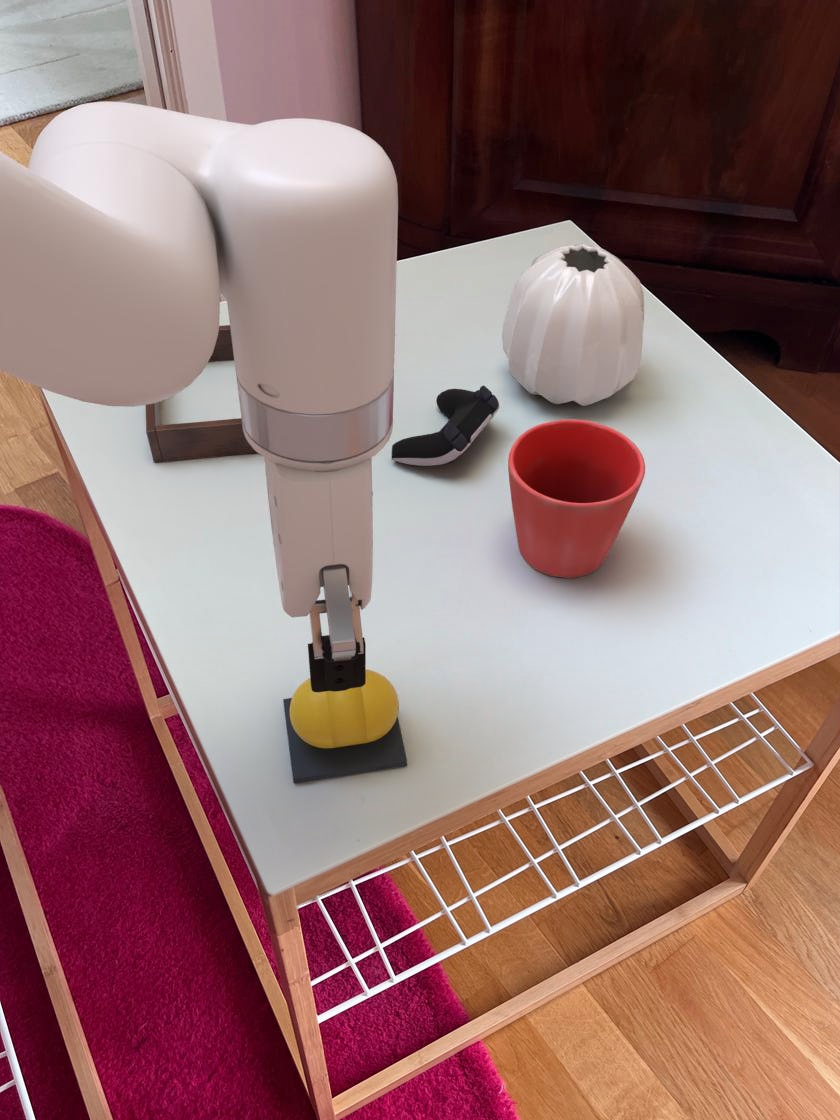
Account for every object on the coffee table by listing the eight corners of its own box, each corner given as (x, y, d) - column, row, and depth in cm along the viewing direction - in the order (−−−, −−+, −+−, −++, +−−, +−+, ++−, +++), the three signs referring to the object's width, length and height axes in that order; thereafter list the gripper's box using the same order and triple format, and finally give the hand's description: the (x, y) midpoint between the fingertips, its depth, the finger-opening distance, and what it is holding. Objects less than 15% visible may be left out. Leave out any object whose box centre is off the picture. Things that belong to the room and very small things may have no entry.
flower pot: (488, 509, 87) (497, 420, 80) (607, 501, 89) (626, 413, 81) (510, 597, 81) (522, 509, 73) (638, 586, 82) (662, 500, 75)
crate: (153, 462, 88) (145, 431, 86) (150, 361, 98) (144, 330, 95) (348, 444, 92) (347, 414, 89) (327, 348, 101) (325, 318, 98)
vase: (541, 327, 106) (556, 206, 96) (656, 374, 102) (685, 253, 92) (472, 388, 98) (481, 264, 88) (593, 442, 94) (618, 318, 84)
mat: (293, 784, 68) (293, 779, 68) (283, 703, 72) (283, 698, 72) (407, 766, 70) (407, 761, 69) (390, 688, 74) (390, 683, 73)
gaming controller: (412, 490, 91) (462, 468, 86) (382, 452, 90) (432, 428, 85) (464, 427, 98) (514, 403, 93) (438, 390, 96) (487, 364, 91)
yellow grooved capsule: (296, 767, 68) (290, 726, 64) (289, 707, 71) (282, 664, 67) (404, 751, 70) (405, 709, 66) (392, 692, 73) (392, 649, 69)
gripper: (228, 306, 53) (255, 534, 66) (253, 527, 42) (280, 747, 55) (366, 300, 54) (366, 524, 68) (424, 511, 44) (411, 729, 57)
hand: (328, 624), depth 61 cm, fingers open, 9 cm apart
